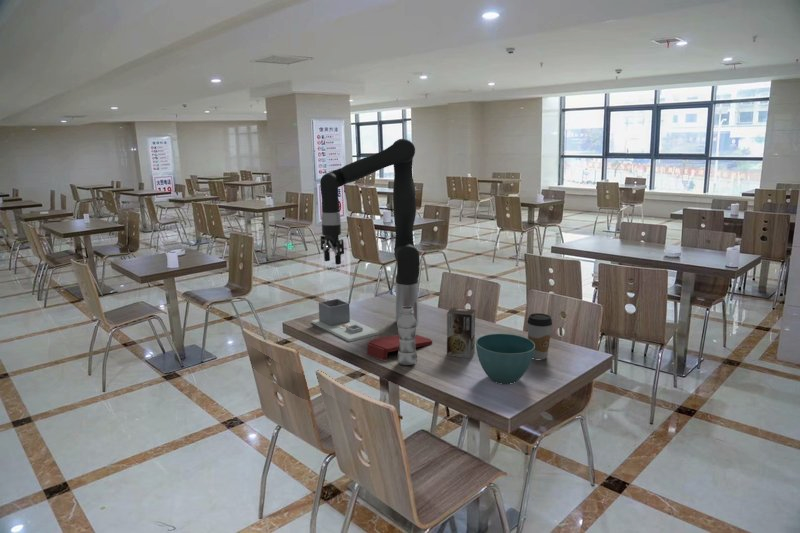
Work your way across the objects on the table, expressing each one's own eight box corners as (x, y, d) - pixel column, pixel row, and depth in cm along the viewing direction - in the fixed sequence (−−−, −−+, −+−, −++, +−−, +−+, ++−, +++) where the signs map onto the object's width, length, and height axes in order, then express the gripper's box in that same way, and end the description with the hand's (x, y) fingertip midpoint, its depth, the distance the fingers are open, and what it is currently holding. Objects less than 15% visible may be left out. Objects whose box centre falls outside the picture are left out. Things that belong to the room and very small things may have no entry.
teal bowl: (490, 363, 189) (491, 329, 186) (541, 376, 179) (543, 340, 176) (465, 382, 174) (466, 345, 171) (519, 396, 164) (521, 358, 161)
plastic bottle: (417, 367, 186) (417, 310, 181) (397, 367, 186) (396, 310, 181) (417, 360, 192) (417, 305, 188) (397, 360, 192) (397, 304, 188)
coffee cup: (536, 363, 189) (538, 321, 185) (520, 355, 196) (522, 314, 193) (555, 359, 192) (557, 318, 189) (538, 351, 200) (541, 311, 196)
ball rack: (311, 322, 232) (310, 302, 230) (339, 316, 241) (339, 296, 239) (349, 341, 210) (348, 319, 208) (379, 334, 218) (378, 312, 216)
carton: (409, 345, 217) (363, 353, 199) (411, 333, 217) (364, 339, 198) (433, 353, 209) (386, 362, 191) (434, 340, 208) (388, 348, 190)
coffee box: (475, 352, 199) (476, 309, 195) (471, 358, 193) (472, 314, 189) (450, 349, 202) (451, 307, 198) (445, 355, 196) (446, 312, 192)
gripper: (348, 224, 219) (349, 264, 222) (330, 220, 230) (331, 258, 233) (332, 226, 214) (333, 266, 218) (314, 222, 225) (315, 261, 229)
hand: (332, 262), depth 226 cm, fingers open, 8 cm apart
